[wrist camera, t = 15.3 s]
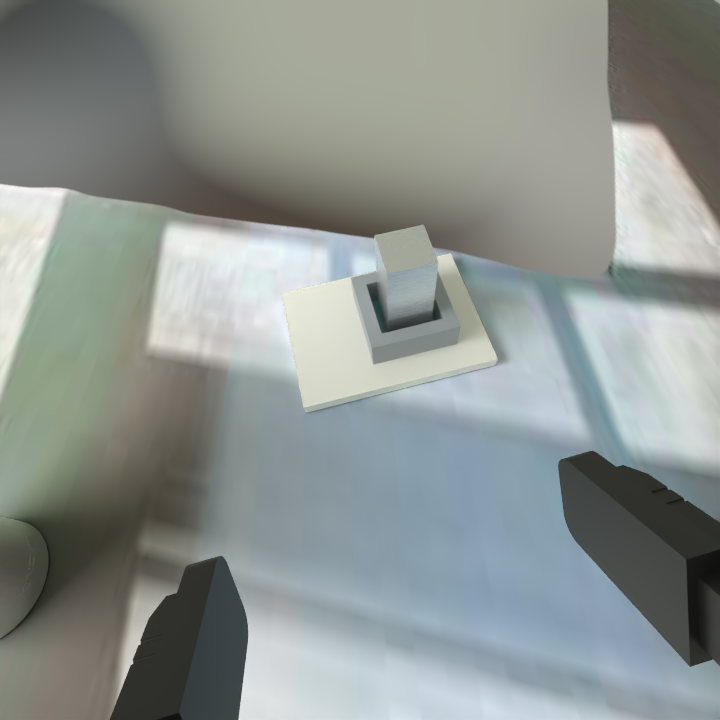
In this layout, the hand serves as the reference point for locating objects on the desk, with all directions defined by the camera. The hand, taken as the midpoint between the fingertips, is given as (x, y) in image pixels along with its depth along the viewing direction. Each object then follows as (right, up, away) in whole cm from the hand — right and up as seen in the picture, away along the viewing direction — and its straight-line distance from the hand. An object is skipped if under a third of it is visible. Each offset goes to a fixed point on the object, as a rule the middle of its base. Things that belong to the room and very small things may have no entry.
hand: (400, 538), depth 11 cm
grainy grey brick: (+3, +8, +34) cm, 35 cm away
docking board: (+1, +7, +35) cm, 35 cm away
